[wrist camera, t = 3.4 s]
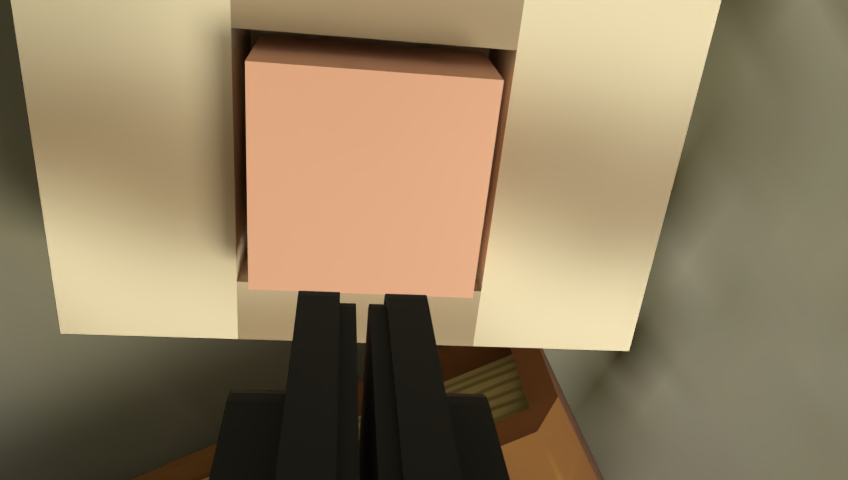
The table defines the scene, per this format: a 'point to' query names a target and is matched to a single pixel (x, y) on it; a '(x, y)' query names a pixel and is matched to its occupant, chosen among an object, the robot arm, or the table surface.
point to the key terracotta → (367, 166)
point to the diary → (511, 409)
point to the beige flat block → (227, 176)
